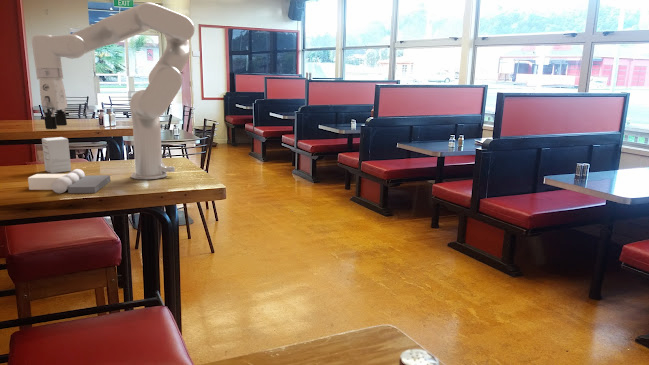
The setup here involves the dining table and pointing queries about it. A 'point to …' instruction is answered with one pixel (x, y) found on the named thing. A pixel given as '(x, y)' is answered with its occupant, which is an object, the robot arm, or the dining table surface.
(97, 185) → the fixed leaf
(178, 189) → the dining table surface
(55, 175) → the cream hinge flap
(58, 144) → the supplement box
